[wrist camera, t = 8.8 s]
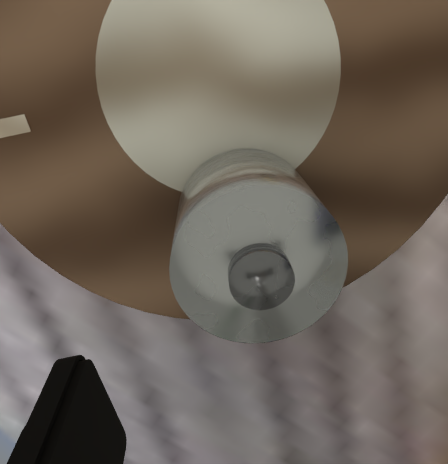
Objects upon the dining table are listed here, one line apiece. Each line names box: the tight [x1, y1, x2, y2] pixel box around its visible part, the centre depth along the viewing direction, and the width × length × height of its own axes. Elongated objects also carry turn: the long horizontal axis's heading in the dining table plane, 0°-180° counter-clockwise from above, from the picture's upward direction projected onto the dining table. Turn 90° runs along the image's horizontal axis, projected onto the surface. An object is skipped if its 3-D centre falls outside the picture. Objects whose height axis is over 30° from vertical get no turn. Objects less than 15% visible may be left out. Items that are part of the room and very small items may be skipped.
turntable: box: [0, 0, 448, 319], centre depth 16 cm, size 26×26×8 cm
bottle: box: [169, 148, 348, 343], centre depth 18 cm, size 7×7×7 cm
